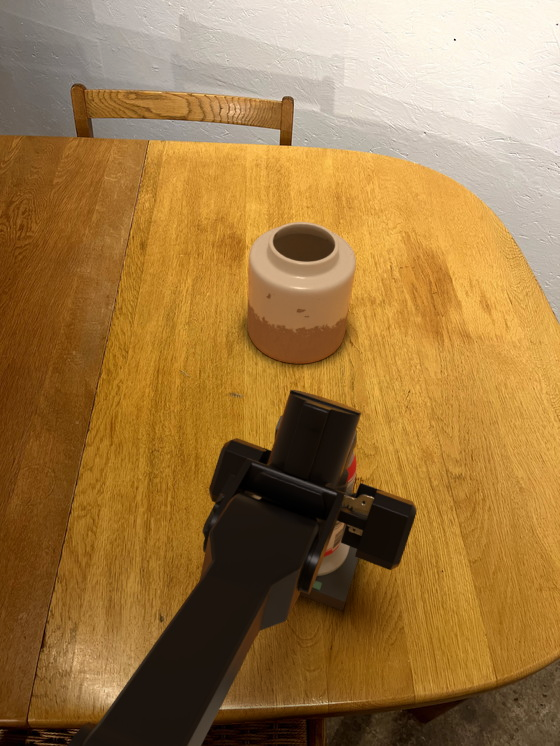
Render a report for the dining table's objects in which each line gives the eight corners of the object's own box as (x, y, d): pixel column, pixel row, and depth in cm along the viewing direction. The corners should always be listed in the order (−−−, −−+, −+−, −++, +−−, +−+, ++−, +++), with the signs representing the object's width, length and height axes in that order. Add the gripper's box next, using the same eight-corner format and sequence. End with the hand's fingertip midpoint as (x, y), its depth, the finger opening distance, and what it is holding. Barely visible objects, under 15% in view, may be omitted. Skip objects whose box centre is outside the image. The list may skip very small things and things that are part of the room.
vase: (363, 344, 100) (381, 258, 88) (277, 378, 95) (282, 290, 83) (312, 287, 109) (322, 200, 97) (230, 314, 104) (229, 226, 91)
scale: (342, 611, 72) (346, 599, 70) (250, 576, 74) (250, 564, 72) (367, 528, 79) (371, 515, 77) (283, 499, 81) (284, 485, 79)
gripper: (436, 463, 51) (435, 443, 66) (219, 388, 55) (265, 386, 70) (392, 596, 51) (401, 546, 67) (181, 512, 55) (235, 484, 71)
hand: (324, 486), depth 68 cm, fingers closed on beer can, 6 cm apart
